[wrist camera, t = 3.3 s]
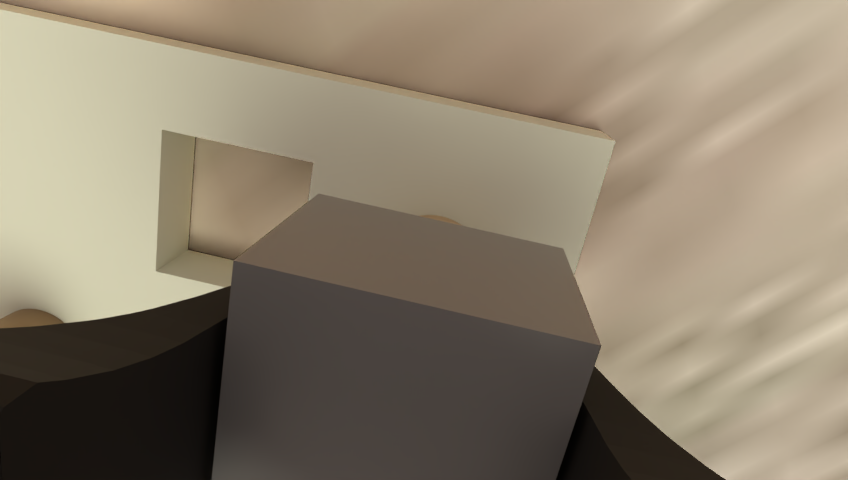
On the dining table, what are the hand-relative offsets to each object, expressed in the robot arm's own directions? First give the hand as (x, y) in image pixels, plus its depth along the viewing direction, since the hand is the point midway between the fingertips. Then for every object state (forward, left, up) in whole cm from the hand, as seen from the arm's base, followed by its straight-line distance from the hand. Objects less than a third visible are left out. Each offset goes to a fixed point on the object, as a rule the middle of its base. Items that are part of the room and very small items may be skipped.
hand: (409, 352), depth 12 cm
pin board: (+6, +3, -7) cm, 10 cm away
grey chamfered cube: (0, 0, -1) cm, 1 cm away
